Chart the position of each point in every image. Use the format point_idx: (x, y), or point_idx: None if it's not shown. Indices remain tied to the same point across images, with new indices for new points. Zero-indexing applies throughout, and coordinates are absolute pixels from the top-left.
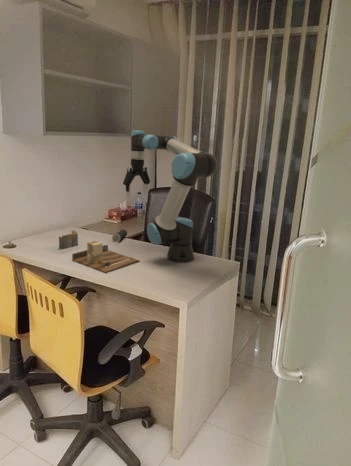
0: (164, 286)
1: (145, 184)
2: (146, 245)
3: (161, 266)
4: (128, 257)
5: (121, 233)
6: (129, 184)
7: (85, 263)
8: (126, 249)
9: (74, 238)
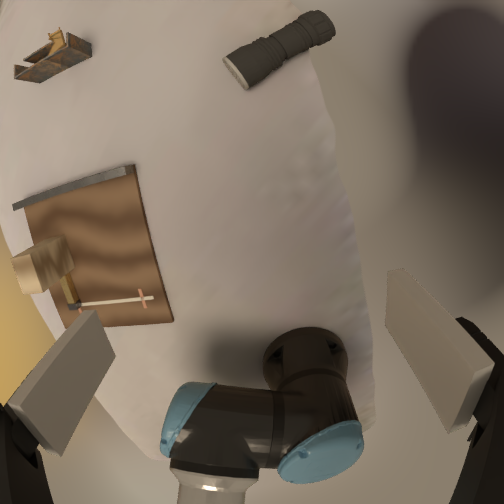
0: (149, 428)
1: (450, 420)
2: (316, 192)
3: (207, 375)
4: (155, 283)
5: (277, 56)
6: (33, 464)
7: None
8: (210, 188)
9: (63, 56)
